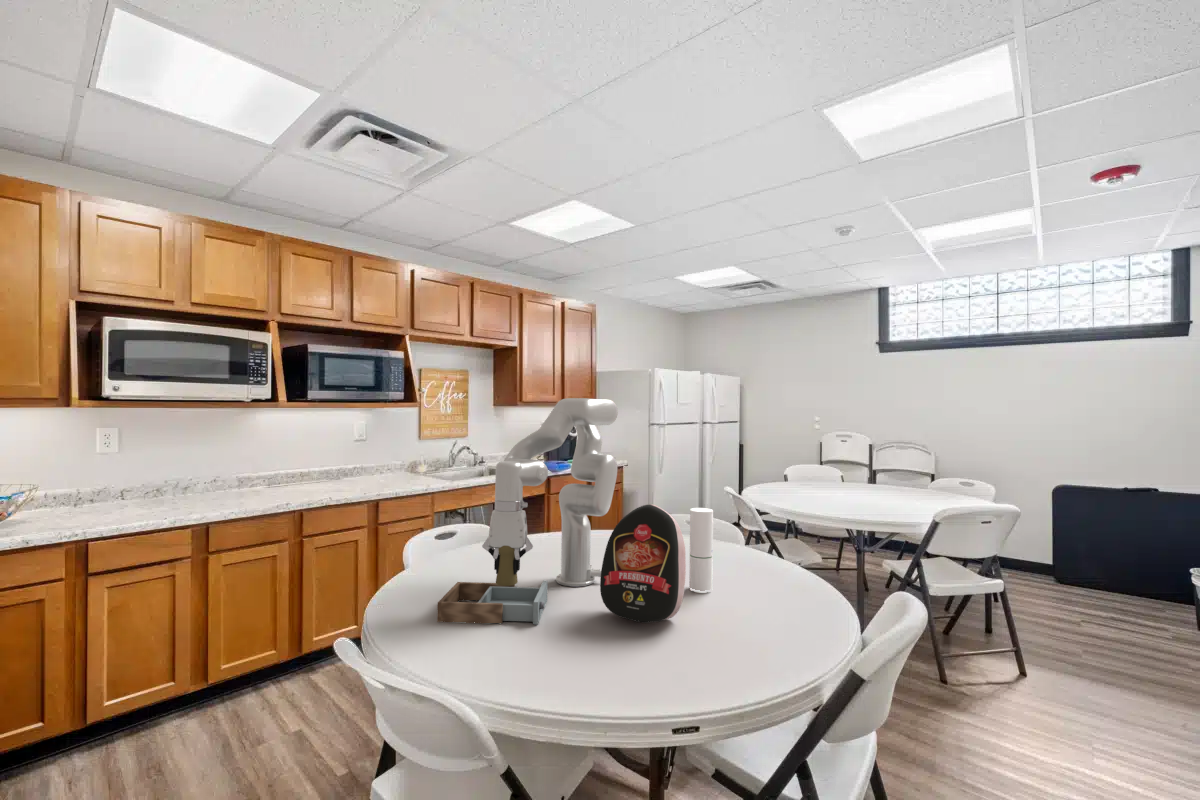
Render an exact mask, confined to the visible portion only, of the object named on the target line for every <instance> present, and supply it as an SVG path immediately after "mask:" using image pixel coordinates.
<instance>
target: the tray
mask: <svg viewBox="0 0 1200 800" xmlns="http://www.w3.org/2000/svg"><path fill="white" fill-rule="evenodd" d="M548 584H549V582H548V580H543V581H542V583H541V584H540V587H532V586H531V587H529V586H528V587H523V586H522V587H521V586H515V587H497V586H490V587H489V588H488V590H487V591H486V592H485V594H484V595H483V596H482V598H481V599H480V600H479V601H478V602H477V603H503V618H502V622H503V621H504V622H507V621H508V622H532V624H533V625H539V622H540V620H541V617H542V615H543V612H544V610H545V607H546V604H547V602H548V587H549V586H548Z"/></svg>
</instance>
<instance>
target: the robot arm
mask: <svg viewBox="0 0 1200 800" xmlns="http://www.w3.org/2000/svg"><path fill="white" fill-rule="evenodd" d="M618 414H619V411H618V406H617V404H616V403H615V401H613V400H611V399H604V398H602V399H601V398H588V397H587V398H586V397H585V398H584V397H581V398H579V397H578V398H577V397H572V398H571V397H570V398H569V397H568V398H563V399H560V400H559V401H557V403H556V404H555V406H554V407H553V409H552V410H551V411H550V413H549V414H548V416H547V417H546V418H545V420H544V422H542V424H541V426H540V427H539V428H538V429H537V430H535V431H534V432H531V433H530V434H528V435H527V436H525V437H524V438H523V439H521V440H520V441H518V442H517V443H516V444H515V445H513V447H511V450H510V451H509V452H508V454H507V455H506V457H505V458H504V459H503V461H499V462H498V463H497V464H496V466H495V478H494V479H495V482H494V483H495V485H494V486H495V488H494V489H495V490H494V509H493V510H492V512H491V516H490V523H489V530H488V537H487V538H486V539H485V541H484V543H482V545H481V547H482V548H483V549H484V550H486V552H488V553H489V554H490V555H491V556H492V558H493V559H494V565H493V567H494V570H495V574H496V575H497V574H498V570H499V557H500V554H499V548H500V547H502V546H510V547H511V548H514V550H515V551H514V553H515V559H514V560H513V571H514V575H516V573H517V574H518V572H519V571H520V568H521V558H522V557H523V556H524V555H525V554H526V553H528V552H530V551H531V550H532V549H533V548H534V546H533V544H532V542H531V541H530V540H531V539H529V538H528V524H527V514H526V510H523V509H524V508H528V506H529V505H528V502H526V501H524V499H523V495H524V494H523V492H524V491H523V490H524V489H523V488H524V487H525V486H527V487H528V486H529V487H537V486H541V485H542V484H543V483H544V482H545V481H546V480H547V479H548V476H549V469H548V466H547V465H546V464H545V462H543V461H541V460H539V459H532V458H534V457H536V456H537V455H540V454H544V453H546V452H549V451H553V450H556V449H558V448H560V447H562V445H563V444H564V443H565V441H566V439H567V438H568V436H569V434H570V433H571V432H572V430H573V428H574V427H575V429H576V433H577V438H576V439H577V440H576V444H575V445H576V446H575V448H574V453H573V457H572V462H571V466H570V467H571V468H570V474H571V476H572V478H574V479H575V480H578V481H582V482H590V483H594V485H592V484H584V483H568V484H566V485H564V486H563V487H562V488H561V489H560V491H559V494H558V503H559V509H560V516H561V517H560V518H561V546H560V547H561V550H560V551H561V557H560V574H558V575H557V576H556V578H555V581H556V583H557V584H559V585H561V586H565V587H575V588H576V587H577V588H578V587H586V586H590V585H592V584H594V583H595V581H596V580H595V577H597V578H601V569H594V568H593V567H592V564H591V534H592V533H591V532H592V530H591V529H592V528H591V522H590V520H589V517H588V516H590V517H591V516H592V517H603V516H605V515H606V514H608V512H609V510H610V508H611V505H612V501H613V496H614V492H615V487H616V484H617V483H616V482H617V477H618V463H617V461H616V458H615V457H614V456H613V455H611V454H608V453H602V452H601V451H602V445H603V439H602V438H603V437H602V435H601V432H600V431H599V429H598V427H597V426H610V425H612V424H613V423H614V422H616V420H617V418H618Z"/></svg>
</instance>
